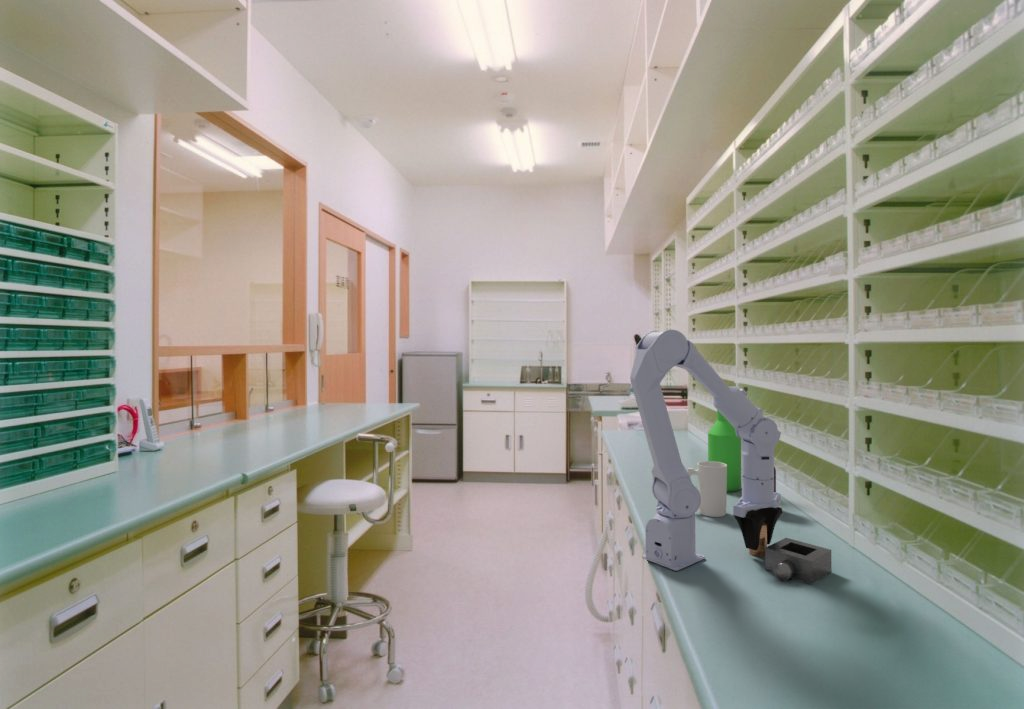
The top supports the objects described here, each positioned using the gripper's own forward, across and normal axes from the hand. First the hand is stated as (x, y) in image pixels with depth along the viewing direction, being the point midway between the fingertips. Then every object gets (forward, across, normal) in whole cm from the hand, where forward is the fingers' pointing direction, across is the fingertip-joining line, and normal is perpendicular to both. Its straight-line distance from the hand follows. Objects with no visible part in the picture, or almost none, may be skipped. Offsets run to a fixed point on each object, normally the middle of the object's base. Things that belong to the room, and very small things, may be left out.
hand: (758, 545), depth 105 cm
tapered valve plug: (+2, 0, 0) cm, 2 cm away
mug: (+2, +15, +21) cm, 26 cm away
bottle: (+2, +39, +30) cm, 49 cm away
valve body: (+2, -2, -8) cm, 9 cm away
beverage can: (+2, +28, +14) cm, 31 cm away
